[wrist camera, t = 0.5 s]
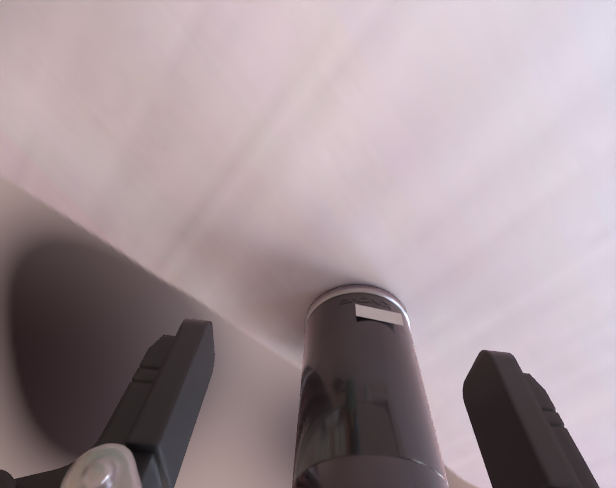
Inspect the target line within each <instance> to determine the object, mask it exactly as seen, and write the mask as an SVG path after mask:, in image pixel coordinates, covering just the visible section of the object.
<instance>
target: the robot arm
mask: <svg viewBox="0 0 616 488" xmlns="http://www.w3.org/2000/svg"><path fill="white" fill-rule="evenodd" d="M212 328H213V327H212V322H211V321H204V320H195V319H185V320H184V321H183V322H182V324H181V326H180V328H179V331H178V332H177V334H176V336H169V335H163V336H162V337H161V338H160V339H159V340H158V341H156V342H155V343H154V344H153V345H152V346H151V347H150V348H149V349H148V351H147V353H146V354H145V356H144V358H143V360H142V362H141V364H140V367H139V368H138V369H137V371H136V373H135V374H134V376H133V378H132V382H130V384H129V386H128V388H127V389H126V391H125V393H124V395H123V396H122V398H121V400H120V402H119V404H118V406H117V407H116V409H115V411H114V413H113V415H112V417H111V419H110V420H109V422H108V424H107V426H106V427H105V429H104V431H103V433H102V435H101V437H100V438H99V440H98V441H97V442H96V444H95V445H94V446H93V447H92V448H91V449H90V450H89V451H87V452H86V453H84V454H83V455H81V456H80V457H79V458H78V459H77V460H76V461H74V462H73V463H71V464H69V465H67V466H64V467H62V468H59V469H55V470H52V471H47V472H43V473H38V474H34V475H30V476H25V477H21V478H17V479H14V478H13V477H12V476H11V475H10V474H9V473H8V472H6V471H4V470H0V488H174V486H175V483H176V480H177V477H178V474H179V471H180V468H181V465H182V462H183V459H184V456H185V453H186V450H187V447H188V443H189V441H190V438H191V435H192V432H193V429H194V426H195V423H196V420H197V417H198V414H199V411H200V408H201V405H202V402H203V399H204V396H205V393H206V390H207V387H208V384H209V381H210V378H211V375H212V371H213V367H214V357H215V353H214V340H213V329H212ZM305 335H306V336H305V347H304V356H303V367H302V379H301V391H300V402H299V414H298V425H297V438H296V449H295V461H294V472H293V483H292V488H449V484H448V480H447V476H446V472H445V469H444V464H443V460H442V456H441V452H440V448H439V444H438V440H437V436H436V432H435V428H434V424H433V420H432V416H431V412H430V408H429V404H428V400H427V396H426V392H425V388H424V384H423V380H422V376H421V372H420V368H419V364H418V360H417V356H416V352H415V347H414V343H413V340H412V336H411V332H410V323H409V319H408V315H407V312H406V309H405V307H404V306H403V304H402V303H401V302H400V301H399V300H398V299H397V298H396V297H395V296H394V295H392V294H391V293H389V292H387V291H385V290H383V289H380V288H377V287H373V286H368V285H347V286H342V287H338V288H335V289H332V290H330V291H328V292H326V293H324V294H323V295H321V296H320V297H319V298H318V299H316V300H315V302H314V303H313V304H312V305H311V307H310V308H309V310H308V312H307V316H306V322H305ZM463 399H464V403H465V406H466V409H467V412H468V415H469V418H470V421H471V424H472V427H473V430H474V433H475V436H476V439H477V442H478V445H479V448H480V451H481V454H482V457H483V460H484V463H485V466H486V469H487V472H488V475H489V478H490V481H491V484H492V487H493V488H599V486H598V484H597V482H596V480H595V479H594V477H593V475H592V473H591V471H590V470H589V468H588V466H587V464H586V462H585V461H584V459H583V457H582V455H581V453H580V452H579V450H578V448H577V446H576V445H575V443H574V441H573V439H572V437H571V436H570V434H569V432H568V430H567V428H564V423H563V421H562V419H561V418H560V416H559V414H558V413H556V411H555V407H554V405H553V403H552V401H551V400H550V398H549V396H548V394H547V393H546V391H545V390H544V389H543V388H542V386H541V385H540V384H539V383H538V382H537V381H536V380H535V379H534V378H533V377H532V376H531V375H530V374H527V373H523V372H522V370H521V369H520V367H519V365H518V363H517V361H516V359H515V357H514V356H513V355H512V354H510V353H506V352H497V351H488V350H482V351H481V352H480V353H479V354H478V356H477V358H476V360H475V362H474V364H473V366H472V368H471V369H470V371H469V373H468V375H467V377H466V379H465V381H464V384H463Z"/></svg>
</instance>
